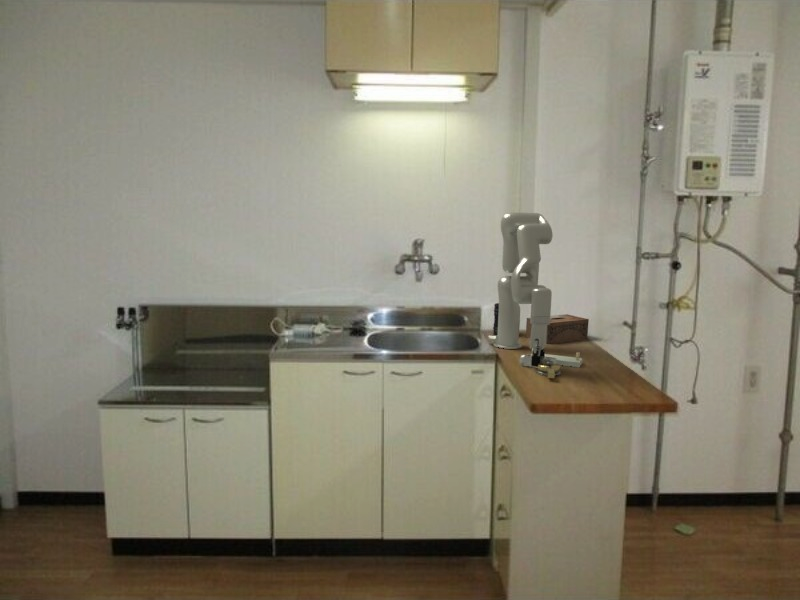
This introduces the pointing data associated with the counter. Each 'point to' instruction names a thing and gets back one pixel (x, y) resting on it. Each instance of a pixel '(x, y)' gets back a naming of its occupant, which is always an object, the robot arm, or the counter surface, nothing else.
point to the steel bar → (526, 360)
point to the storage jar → (496, 319)
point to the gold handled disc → (549, 368)
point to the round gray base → (546, 373)
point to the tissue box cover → (563, 328)
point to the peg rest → (566, 360)
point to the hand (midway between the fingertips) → (537, 363)
